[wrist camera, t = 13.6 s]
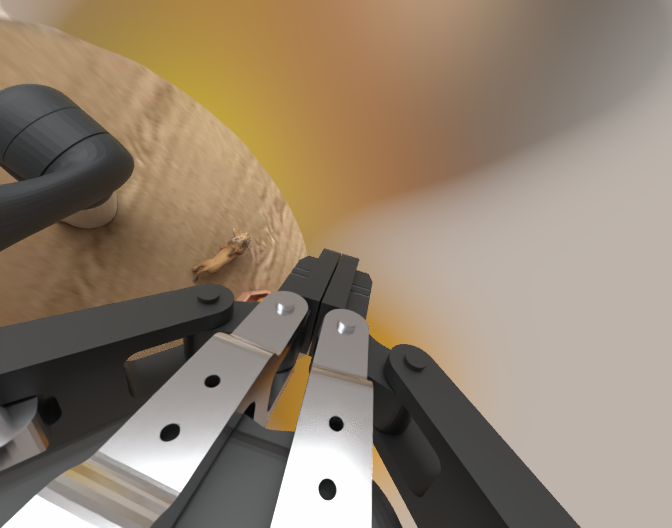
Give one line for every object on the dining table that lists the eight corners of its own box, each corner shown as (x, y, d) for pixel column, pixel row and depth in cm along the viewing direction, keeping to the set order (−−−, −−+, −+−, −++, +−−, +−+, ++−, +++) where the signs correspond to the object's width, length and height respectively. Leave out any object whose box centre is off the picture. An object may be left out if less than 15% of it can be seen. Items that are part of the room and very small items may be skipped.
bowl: (255, 344, 72) (263, 348, 68) (220, 318, 67) (226, 321, 63) (282, 308, 76) (291, 309, 72) (251, 281, 72) (258, 281, 68)
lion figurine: (228, 228, 69) (241, 222, 62) (245, 244, 71) (259, 240, 64) (183, 274, 63) (191, 273, 55) (203, 289, 65) (213, 291, 58)
